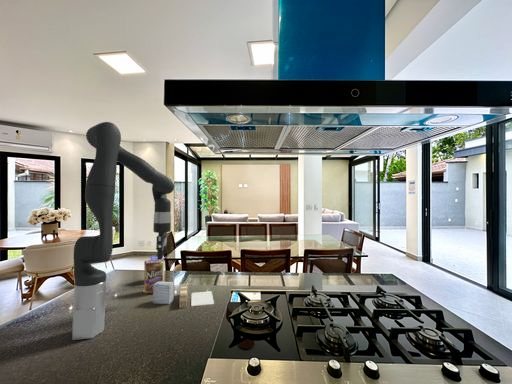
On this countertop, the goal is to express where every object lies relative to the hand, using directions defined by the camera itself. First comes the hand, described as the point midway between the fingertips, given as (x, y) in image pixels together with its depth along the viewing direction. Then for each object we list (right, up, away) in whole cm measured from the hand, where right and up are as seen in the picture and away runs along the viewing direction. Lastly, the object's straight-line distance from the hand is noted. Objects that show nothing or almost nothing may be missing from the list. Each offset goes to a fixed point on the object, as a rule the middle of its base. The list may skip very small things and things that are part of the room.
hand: (161, 256), depth 112 cm
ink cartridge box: (-16, -22, +30) cm, 40 cm away
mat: (+18, -21, +3) cm, 28 cm away
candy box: (-8, -21, +12) cm, 26 cm away
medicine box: (+1, -21, -1) cm, 21 cm away
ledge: (+10, -21, +1) cm, 23 cm away
